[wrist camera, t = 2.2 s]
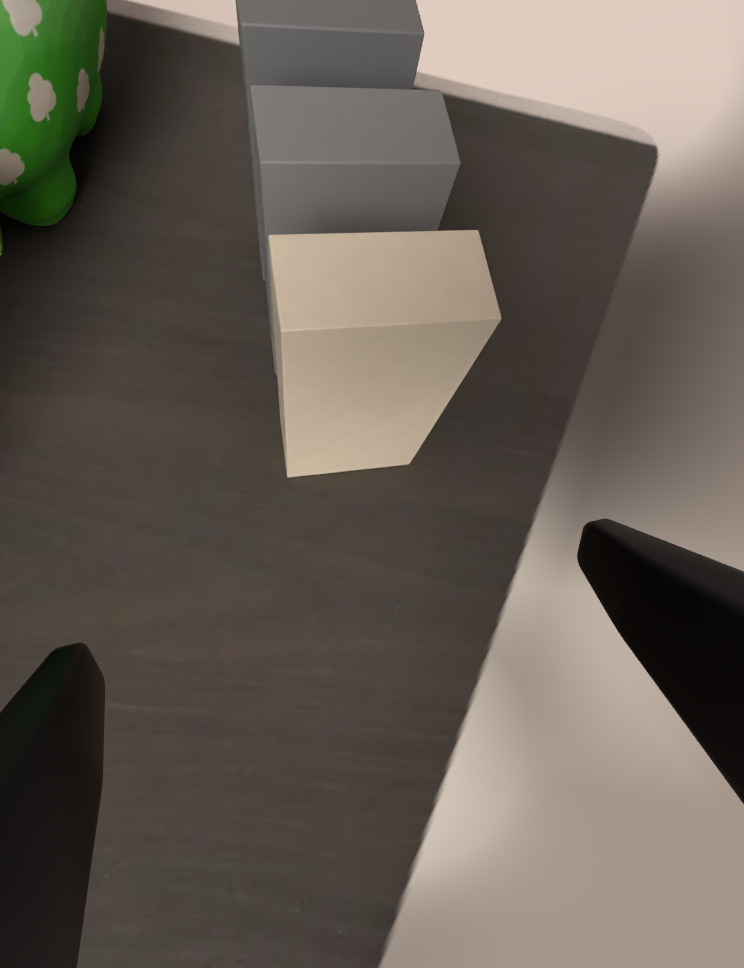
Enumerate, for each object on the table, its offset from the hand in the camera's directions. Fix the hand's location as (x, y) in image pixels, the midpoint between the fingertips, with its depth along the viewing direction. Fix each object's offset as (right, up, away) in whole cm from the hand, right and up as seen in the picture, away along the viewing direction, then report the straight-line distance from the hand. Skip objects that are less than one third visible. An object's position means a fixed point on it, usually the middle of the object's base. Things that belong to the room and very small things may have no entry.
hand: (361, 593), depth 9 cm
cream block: (-1, +4, +16) cm, 17 cm away
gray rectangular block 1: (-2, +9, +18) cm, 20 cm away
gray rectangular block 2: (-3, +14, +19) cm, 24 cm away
